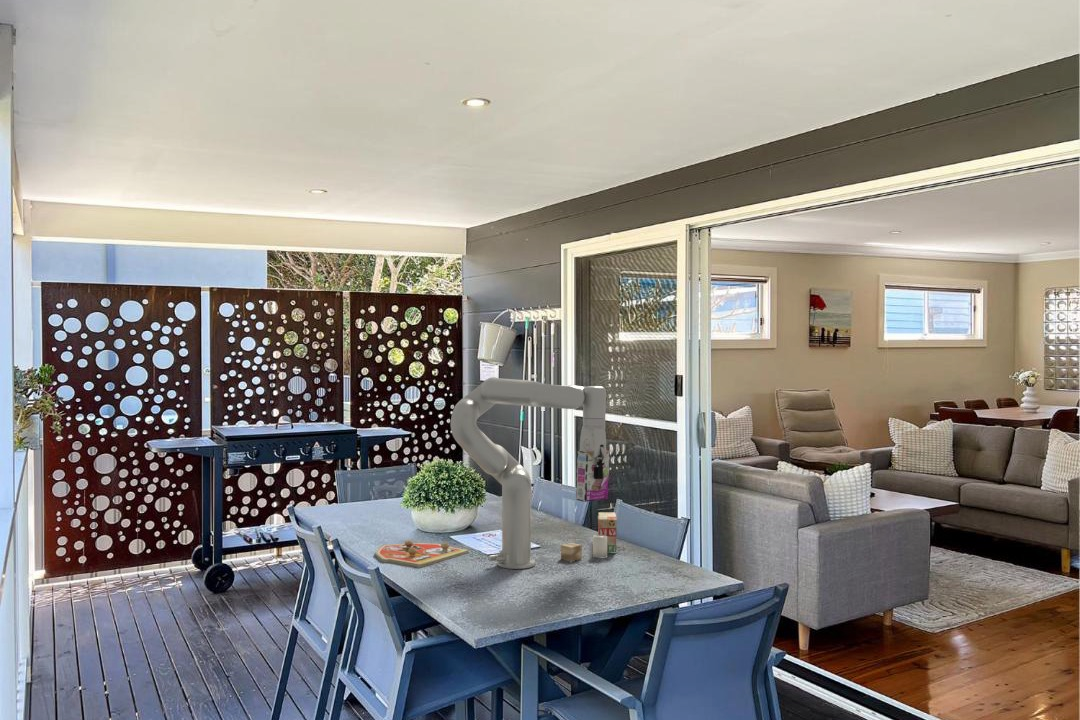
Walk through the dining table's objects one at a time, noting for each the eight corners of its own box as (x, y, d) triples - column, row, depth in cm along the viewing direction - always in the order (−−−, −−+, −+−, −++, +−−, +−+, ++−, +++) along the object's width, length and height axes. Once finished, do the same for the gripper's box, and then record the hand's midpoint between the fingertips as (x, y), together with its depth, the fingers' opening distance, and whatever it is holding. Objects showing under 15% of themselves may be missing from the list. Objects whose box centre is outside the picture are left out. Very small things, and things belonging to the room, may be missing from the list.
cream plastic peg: (597, 558, 293) (598, 538, 293) (590, 555, 298) (590, 535, 298) (610, 557, 296) (610, 536, 296) (602, 554, 300) (602, 534, 300)
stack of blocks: (597, 540, 323) (597, 507, 322) (614, 540, 322) (614, 507, 322) (598, 553, 301) (599, 518, 301) (616, 553, 301) (616, 518, 301)
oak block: (571, 562, 289) (571, 547, 289) (560, 559, 292) (561, 544, 292) (581, 559, 292) (581, 545, 292) (571, 557, 296) (571, 542, 296)
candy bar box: (586, 502, 280) (587, 452, 280) (575, 500, 284) (576, 450, 283) (609, 499, 287) (610, 450, 287) (598, 497, 291) (599, 448, 291)
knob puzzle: (417, 570, 278) (417, 556, 278) (352, 558, 294) (352, 545, 294) (472, 552, 303) (472, 540, 303) (409, 542, 319) (409, 530, 319)
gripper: (571, 421, 291) (570, 474, 291) (598, 425, 276) (597, 481, 276) (589, 420, 294) (588, 473, 295) (617, 425, 279) (616, 480, 280)
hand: (593, 476), depth 285 cm, fingers closed on candy bar box, 5 cm apart
